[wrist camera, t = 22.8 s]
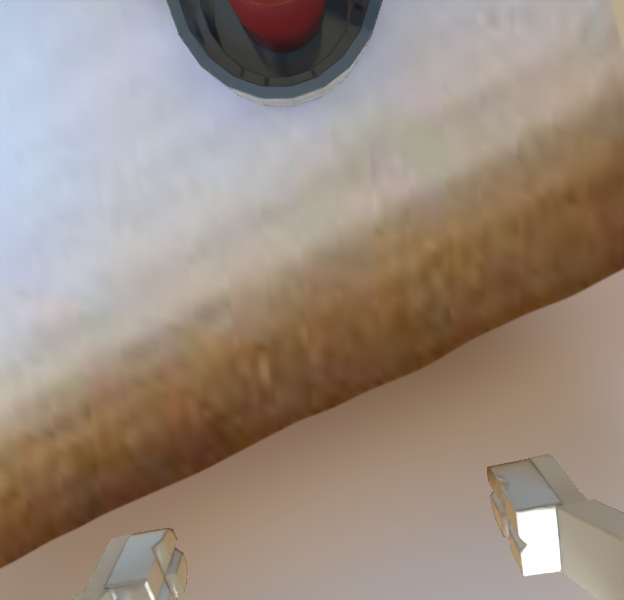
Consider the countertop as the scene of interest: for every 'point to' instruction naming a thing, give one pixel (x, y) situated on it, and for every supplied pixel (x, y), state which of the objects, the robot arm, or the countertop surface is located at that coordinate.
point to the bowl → (272, 65)
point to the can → (280, 22)
